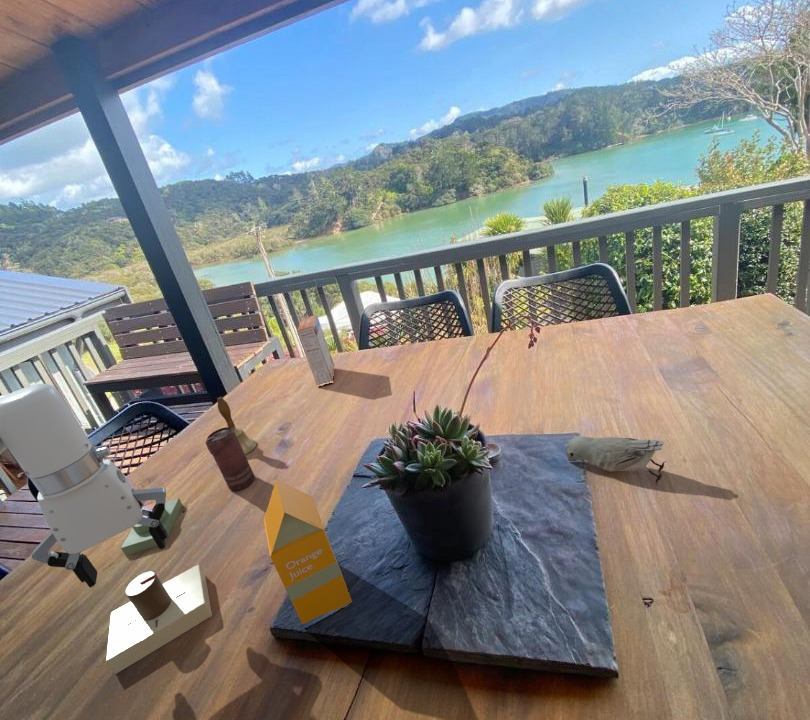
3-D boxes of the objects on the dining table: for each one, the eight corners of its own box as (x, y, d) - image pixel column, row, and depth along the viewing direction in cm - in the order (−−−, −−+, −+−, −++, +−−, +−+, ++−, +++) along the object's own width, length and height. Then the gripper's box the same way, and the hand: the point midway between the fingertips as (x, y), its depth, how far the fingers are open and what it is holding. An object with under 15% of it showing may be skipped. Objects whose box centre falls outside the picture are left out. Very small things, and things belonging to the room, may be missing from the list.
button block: (165, 543, 88) (156, 529, 87) (125, 556, 88) (116, 541, 86) (183, 505, 99) (175, 491, 98) (148, 516, 99) (140, 502, 97)
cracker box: (319, 372, 157) (300, 318, 149) (335, 368, 157) (317, 313, 149) (316, 388, 144) (295, 330, 136) (334, 384, 144) (314, 325, 136)
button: (153, 519, 91) (150, 513, 90) (136, 524, 90) (132, 518, 90) (160, 508, 94) (156, 502, 93) (143, 513, 94) (139, 507, 93)
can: (224, 488, 102) (199, 438, 97) (248, 472, 106) (225, 423, 101) (235, 496, 98) (210, 445, 93) (260, 479, 102) (237, 429, 96)
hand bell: (235, 442, 122) (213, 392, 116) (262, 438, 120) (240, 388, 114) (220, 460, 114) (195, 408, 109) (248, 457, 113) (224, 404, 107)
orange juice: (304, 630, 63) (254, 526, 55) (294, 586, 70) (249, 489, 63) (354, 603, 65) (312, 498, 57) (339, 563, 73) (300, 466, 65)
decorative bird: (571, 453, 84) (568, 420, 81) (668, 469, 74) (667, 433, 71) (563, 470, 80) (559, 436, 77) (663, 490, 70) (663, 452, 68)
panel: (115, 674, 63) (104, 660, 62) (119, 624, 72) (110, 611, 71) (212, 616, 69) (204, 602, 68) (205, 575, 77) (198, 563, 76)
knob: (141, 626, 67) (123, 600, 64) (141, 606, 70) (125, 580, 68) (171, 608, 68) (155, 582, 66) (170, 590, 72) (154, 564, 70)
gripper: (137, 432, 66) (186, 518, 72) (1, 490, 59) (68, 579, 65) (136, 452, 59) (190, 543, 66) (-17, 519, 53) (60, 614, 59)
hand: (129, 561), depth 66 cm, fingers open, 9 cm apart
